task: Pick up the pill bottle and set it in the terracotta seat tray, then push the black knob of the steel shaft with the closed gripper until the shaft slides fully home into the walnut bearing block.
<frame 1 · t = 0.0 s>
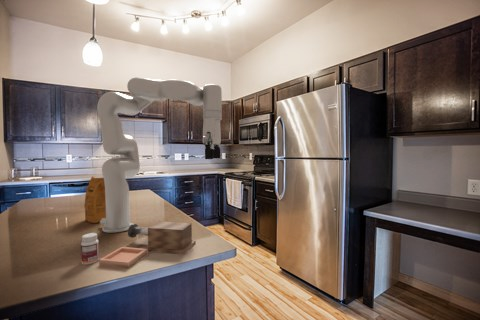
hand: (213, 158, 97), 31 cm above the kitchen island, tool pointing down, fingers open, 9 cm apart
seat tray: (124, 259, 76), on the kitchen island
bearing block: (169, 246, 86), on the kitchen island
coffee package: (97, 220, 121), on the kitchen island
shaft: (147, 231, 88), point 5 cm above the kitchen island, slide at 7.0 cm
pill bottle: (90, 261, 75), on the kitchen island
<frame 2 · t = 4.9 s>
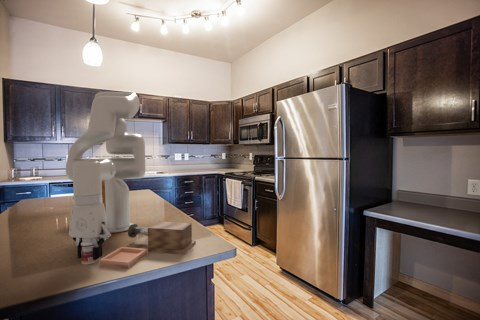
hand: (90, 256, 75), 1 cm above the kitchen island, tool pointing down, fingers closed on pill bottle, 4 cm apart
pill bottle: (90, 261, 75), on the kitchen island, touching gripper
everything else where it was.
when the fingers open (4 cm above the kitchen island, at t = 10.1 s): pill bottle drops 1 cm, resting on seat tray.
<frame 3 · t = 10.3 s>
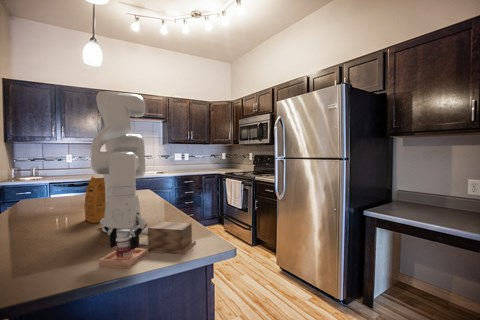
hand: (124, 246, 76), 4 cm above the kitchen island, tool pointing down, fingers open, 6 cm apart
pill bottle: (124, 257, 76), point 1 cm above the kitchen island, touching seat tray
everything else where it was.
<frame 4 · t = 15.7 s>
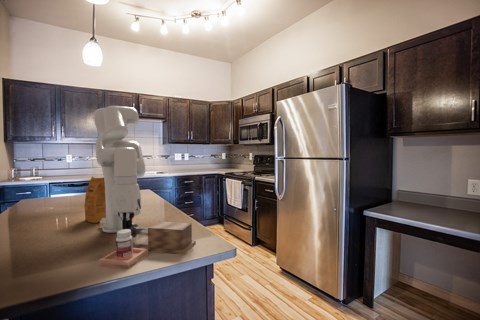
hand: (127, 229, 89), 5 cm above the kitchen island, tool pointing down, fingers closed
shaft: (148, 231, 88), point 5 cm above the kitchen island, slide at 6.9 cm, touching gripper
everything else where it was.
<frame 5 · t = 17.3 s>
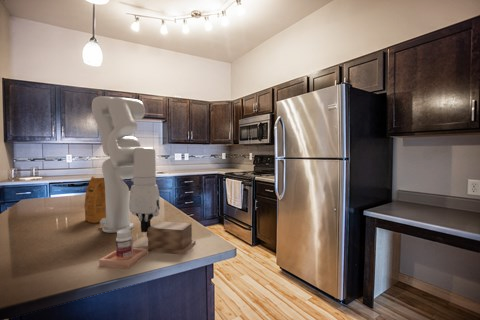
hand: (145, 230, 88), 5 cm above the kitchen island, tool pointing down, fingers closed
shaft: (166, 232, 86), point 5 cm above the kitchen island, slide at -0.6 cm, touching gripper
everything else where it was.
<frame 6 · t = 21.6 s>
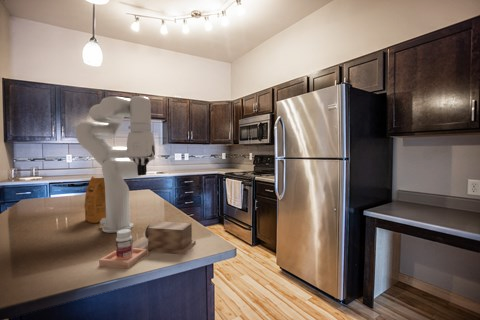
hand: (142, 174, 95), 25 cm above the kitchen island, tool pointing down, fingers closed
shaft: (165, 232, 86), point 5 cm above the kitchen island, slide at 0.0 cm
everything else where it was.
at the end: shaft slide at 0.0 cm; pill bottle 0.1 cm off-centre on the seat tray, point 0.6 cm above the seat tray's base; pill bottle tilted 0° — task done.
